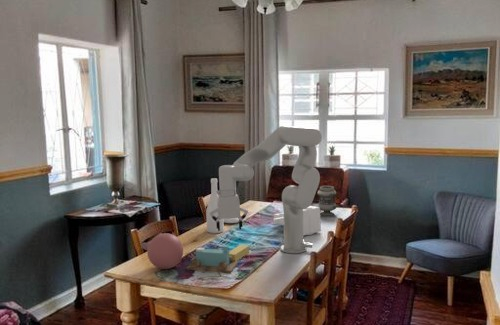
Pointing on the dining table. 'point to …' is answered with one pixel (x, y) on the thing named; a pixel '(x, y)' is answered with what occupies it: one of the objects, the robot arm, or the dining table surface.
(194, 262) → the jig
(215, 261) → the teal notched block
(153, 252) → the balloon
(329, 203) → the apothecary jar
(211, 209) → the wine bottle
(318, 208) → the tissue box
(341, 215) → the dining table surface
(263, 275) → the dining table surface
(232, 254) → the tan wooden bar
